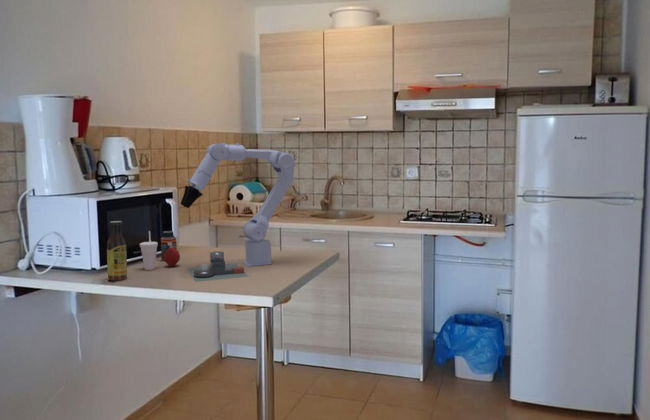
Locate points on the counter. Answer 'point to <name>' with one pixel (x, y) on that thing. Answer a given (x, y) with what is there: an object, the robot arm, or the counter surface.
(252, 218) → the robot arm
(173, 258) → the onion
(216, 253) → the socket
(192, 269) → the mat
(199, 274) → the ratchet
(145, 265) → the smoothie
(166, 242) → the supplement bottle
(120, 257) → the sauce bottle
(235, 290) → the counter surface
